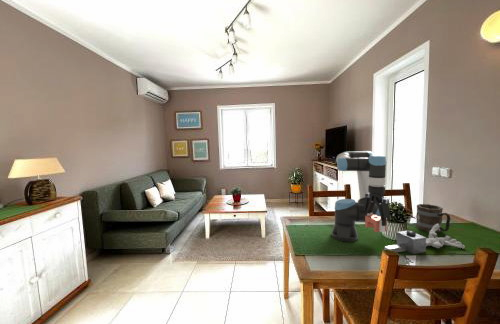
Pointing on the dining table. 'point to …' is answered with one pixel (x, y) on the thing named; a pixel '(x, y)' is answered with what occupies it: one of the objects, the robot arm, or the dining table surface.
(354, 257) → the dining table surface
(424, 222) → the mug
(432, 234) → the white irregular jagged piece
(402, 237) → the hitch
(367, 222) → the red notched block
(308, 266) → the dining table surface
